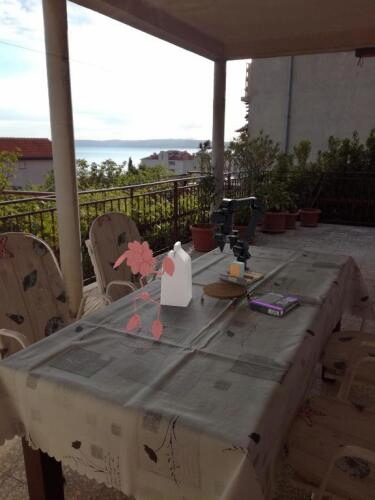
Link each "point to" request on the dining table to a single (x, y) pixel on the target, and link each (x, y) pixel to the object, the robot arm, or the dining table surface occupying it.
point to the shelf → (247, 279)
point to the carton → (237, 269)
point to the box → (273, 303)
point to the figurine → (142, 263)
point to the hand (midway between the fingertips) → (226, 250)
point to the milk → (177, 279)
